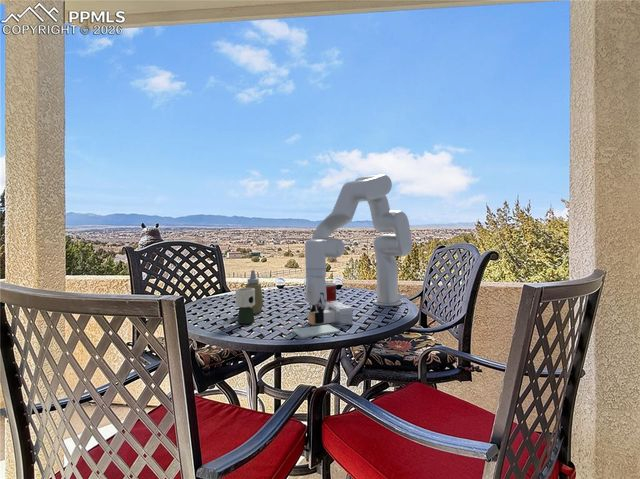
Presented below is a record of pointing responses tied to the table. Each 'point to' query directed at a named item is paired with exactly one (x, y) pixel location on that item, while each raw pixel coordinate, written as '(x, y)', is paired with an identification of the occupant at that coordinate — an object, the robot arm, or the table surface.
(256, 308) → the squeeze bottle
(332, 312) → the plug bar
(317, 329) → the sage mat
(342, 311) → the housing
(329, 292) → the canned food
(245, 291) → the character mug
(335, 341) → the table surface
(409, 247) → the robot arm
